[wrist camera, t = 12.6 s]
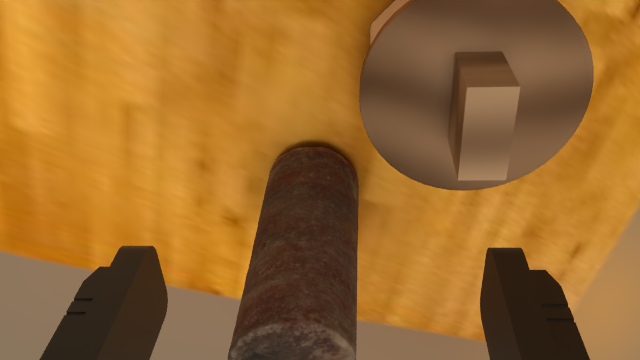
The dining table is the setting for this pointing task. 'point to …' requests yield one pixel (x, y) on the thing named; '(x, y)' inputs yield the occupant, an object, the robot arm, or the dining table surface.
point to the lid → (475, 89)
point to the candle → (302, 263)
